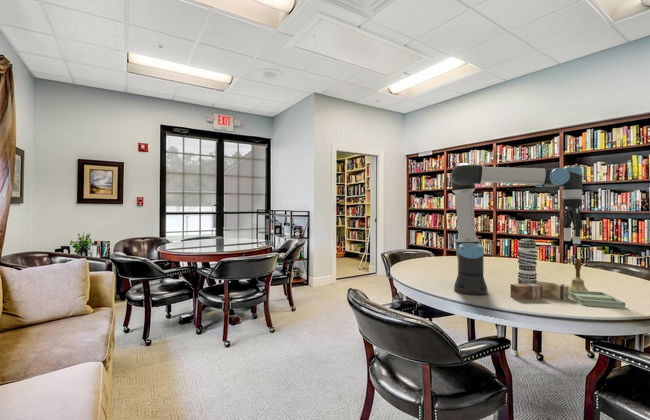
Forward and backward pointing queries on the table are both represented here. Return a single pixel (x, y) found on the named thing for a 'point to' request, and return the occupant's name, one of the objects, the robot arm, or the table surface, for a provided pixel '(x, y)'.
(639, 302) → the table surface
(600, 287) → the table surface
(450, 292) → the table surface
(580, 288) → the hand bell
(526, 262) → the decorative candle
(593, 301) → the pale green flat frame
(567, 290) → the oak bar
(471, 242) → the robot arm
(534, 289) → the walnut bar
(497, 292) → the table surface
